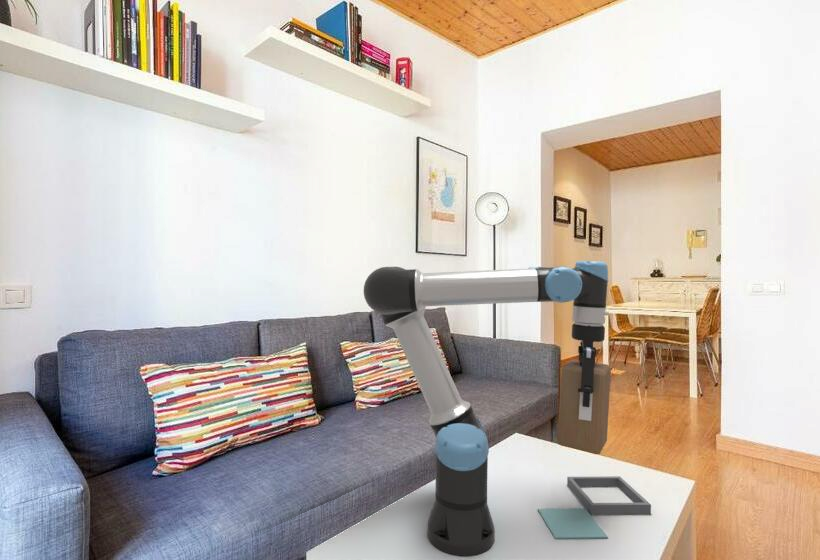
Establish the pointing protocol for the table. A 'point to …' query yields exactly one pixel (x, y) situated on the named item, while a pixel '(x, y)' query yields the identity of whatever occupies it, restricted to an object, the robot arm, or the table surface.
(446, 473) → the robot arm
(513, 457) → the table surface
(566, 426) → the wooden block
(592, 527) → the board
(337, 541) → the table surface
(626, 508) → the gray square frame
